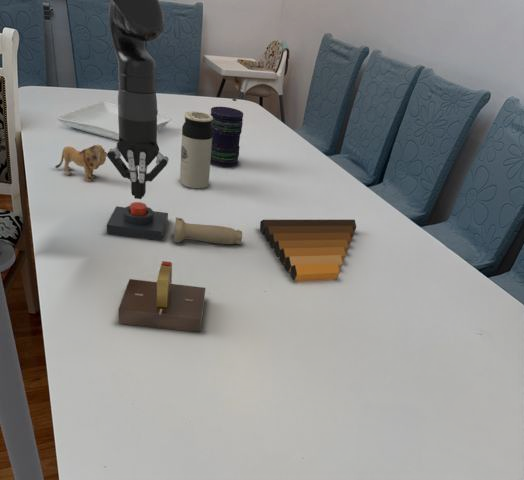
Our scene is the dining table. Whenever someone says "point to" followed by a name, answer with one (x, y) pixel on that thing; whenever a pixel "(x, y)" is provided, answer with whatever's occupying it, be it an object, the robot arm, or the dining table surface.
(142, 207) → the button
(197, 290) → the panel
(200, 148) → the travel mug
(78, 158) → the lion figurine
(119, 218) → the button housing
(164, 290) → the lock knob
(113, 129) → the square plate
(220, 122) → the storage jar
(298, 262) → the pan flute
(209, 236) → the handle
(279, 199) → the dining table surface
